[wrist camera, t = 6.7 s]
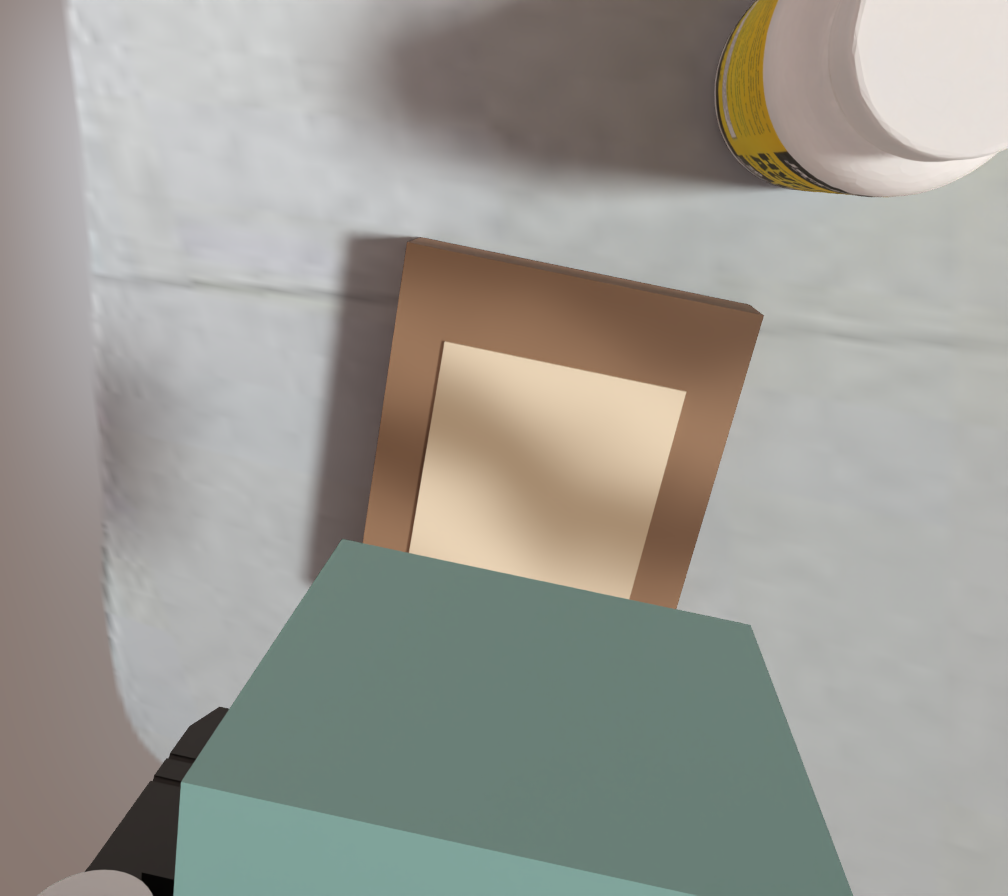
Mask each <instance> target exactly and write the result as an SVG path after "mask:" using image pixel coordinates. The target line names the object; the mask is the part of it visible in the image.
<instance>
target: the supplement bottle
mask: <svg viewBox="0 0 1008 896" xmlns="http://www.w3.org/2000/svg"><path fill="white" fill-rule="evenodd" d="M714 99H715V111H716V117H717V121H718V125H719V128H720V131H721V134H722V136H723V138H724V140H725V143H726V145H727V146H728V148H729V150H730V151H731V153H732V154H733V155H734V157H735V158H736V159H737V160H738V161H739V162H740V164H742V165H743V166H744V167H745V168H746V169H747V170H748V171H750V172H751V173H752V174H754V175H755V176H757V177H759V178H760V179H762V180H764V181H767V182H769V183H771V184H774V185H777V186H780V187H783V188H788V189H793V190H801V191H811V192H825V193H836V194H846V195H857V196H865V197H894V196H906V195H912V194H918V193H923V192H926V191H929V190H933V189H936V188H939V187H942V186H945V185H947V184H949V183H951V182H954V181H956V180H958V179H960V178H962V177H964V176H966V175H967V174H969V173H970V172H972V171H974V170H975V169H977V168H978V167H980V166H981V165H983V164H984V163H985V162H987V161H988V160H989V159H991V158H992V157H993V156H994V155H996V154H997V153H998V152H1000V151H1003V150H1005V149H1008V0H756V2H755V3H754V4H753V5H752V6H751V7H750V8H749V9H748V10H747V11H746V13H745V14H744V15H743V17H742V18H741V19H740V20H739V22H738V23H737V25H736V26H735V28H734V29H733V31H732V33H731V34H730V36H729V38H728V40H727V42H726V44H725V46H724V49H723V51H722V54H721V57H720V60H719V64H718V68H717V72H716V78H715V89H714Z"/></svg>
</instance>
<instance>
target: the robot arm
mask: <svg viewBox="0 0 1008 896" xmlns="http://www.w3.org/2000/svg"><path fill="white" fill-rule="evenodd" d="M228 710H229V709H228V708H223V707H218V708H217V709H215V710H214V711H212V712H211V713H209V714H208V715H206V716H205V717H203V718H201V719H200V720H198V721H197V722H195V723H194V724H192V725H191V726H189V728H188V729H187V730H186V732H185V733H184V735H183V736H182V737H181V739H180V740H179V742H178V743H177V744H176V746H175V747H174V749H173V750H172V751H171V753H170V756H169V758H168V759H167V758H166V760H165V761H164V763H163V764H162V765H161V767H160V768H159V770H158V771H157V773H156V774H155V775H154V779H153V781H150V782H149V784H148V785H147V786H146V788H145V789H144V791H143V792H142V793H141V795H140V796H139V798H138V799H137V800H136V802H135V803H134V805H133V806H132V807H131V809H130V810H129V811H128V813H127V814H126V816H125V817H124V819H123V820H122V822H121V823H120V824H119V826H118V827H117V828H116V830H115V831H114V832H113V834H112V835H111V837H110V838H109V840H108V841H107V842H106V844H105V845H104V847H103V848H102V849H101V851H100V852H99V853H98V855H97V856H96V858H95V859H94V860H93V862H92V863H91V865H90V866H89V867H88V868H87V870H86V871H85V872H83V873H79V874H76V875H73V876H70V877H67V878H65V879H63V880H60V881H58V882H56V883H55V884H53V885H51V886H50V887H48V888H46V889H45V890H44V891H43V892H42V893H40V894H39V895H37V896H173V894H174V879H175V865H176V850H177V835H178V820H179V805H180V790H181V781H182V780H183V778H184V777H185V775H186V774H187V772H188V771H189V769H190V768H191V766H192V765H193V763H194V762H195V760H196V759H197V757H198V756H199V754H200V753H201V751H202V750H203V748H204V746H205V745H206V743H207V742H208V740H209V739H210V737H211V736H212V734H213V733H214V731H215V730H216V728H217V727H218V725H219V724H220V722H221V721H222V719H223V718H224V716H225V715H226V713H227V712H228Z"/></svg>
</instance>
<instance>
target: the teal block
mask: <svg viewBox="0 0 1008 896" xmlns="http://www.w3.org/2000/svg"><path fill="white" fill-rule="evenodd" d="M173 896H853V894H852V891H851V889H850V886H849V884H848V881H847V878H846V876H845V873H844V870H843V868H842V865H841V862H840V860H839V857H838V855H837V852H836V849H835V847H834V844H833V841H832V839H831V836H830V833H829V831H828V828H827V826H826V823H825V820H824V818H823V815H822V812H821V810H820V807H819V804H818V802H817V799H816V797H815V794H814V791H813V789H812V786H811V783H810V781H809V778H808V775H807V773H806V770H805V768H804V765H803V762H802V760H801V757H800V754H799V752H798V749H797V746H796V744H795V741H794V739H793V736H792V733H791V731H790V728H789V725H788V723H787V720H786V717H785V715H784V712H783V710H782V707H781V704H780V702H779V699H778V696H777V694H776V691H775V688H774V686H773V683H772V681H771V678H770V675H769V673H768V670H767V667H766V665H765V662H764V659H763V657H762V654H761V652H760V649H759V646H758V644H757V641H756V638H755V636H754V633H753V630H752V628H751V625H748V624H743V623H738V622H734V621H729V620H724V619H719V618H715V617H710V616H705V615H700V614H696V613H691V612H686V611H682V610H677V609H672V608H667V607H663V606H658V605H653V604H648V603H644V602H639V601H634V600H629V599H625V598H620V597H615V596H611V595H606V594H601V593H596V592H592V591H587V590H582V589H577V588H573V587H568V586H563V585H558V584H554V583H549V582H544V581H539V580H535V579H530V578H525V577H521V576H516V575H511V574H506V573H502V572H497V571H492V570H487V569H483V568H478V567H473V566H468V565H464V564H459V563H454V562H449V561H445V560H440V559H435V558H431V557H426V556H421V555H416V554H412V553H407V552H402V551H397V550H393V549H388V548H383V547H378V546H374V545H369V544H364V543H360V542H355V541H350V540H345V539H342V540H341V541H340V543H339V544H338V546H337V547H336V549H335V551H334V552H333V554H332V555H331V557H330V558H329V560H328V561H327V563H326V564H325V566H324V567H323V569H322V570H321V572H320V573H319V575H318V576H317V578H316V579H315V581H314V582H313V584H312V585H311V587H310V588H309V590H308V591H307V593H306V594H305V596H304V597H303V599H302V600H301V602H300V603H299V605H298V606H297V608H296V609H295V611H294V612H293V614H292V615H291V617H290V618H289V620H288V621H287V623H286V624H285V626H284V627H283V629H282V630H281V632H280V633H279V635H278V636H277V638H276V639H275V641H274V642H273V644H272V645H271V647H270V649H269V650H268V652H267V653H266V655H265V656H264V658H263V659H262V661H261V662H260V664H259V665H258V667H257V668H256V670H255V671H254V673H253V674H252V676H251V677H250V679H249V680H248V682H247V683H246V685H245V686H244V688H243V689H242V691H241V692H240V694H239V695H238V697H237V698H236V700H235V701H234V703H233V704H232V706H231V707H230V709H229V710H228V712H227V713H226V715H225V716H224V718H223V719H222V721H221V722H220V724H219V725H218V727H217V728H216V730H215V731H214V733H213V734H212V736H211V737H210V739H209V740H208V742H207V743H206V745H205V746H204V748H203V750H202V751H201V753H200V754H199V756H198V757H197V759H196V760H195V762H194V763H193V765H192V766H191V768H190V769H189V771H188V772H187V774H186V775H185V777H184V778H183V780H182V781H181V790H180V805H179V820H178V835H177V850H176V865H175V879H174V894H173Z"/></svg>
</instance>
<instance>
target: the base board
mask: <svg viewBox="0 0 1008 896" xmlns="http://www.w3.org/2000/svg"><path fill="white" fill-rule="evenodd" d="M763 316H764V315H762V314H761V313H760V312H758V311H757V310H756V309H754V308H753V307H752V306H750V305H748V304H743V303H738V302H734V301H729V300H724V299H719V298H714V297H709V296H704V295H700V294H695V293H690V292H685V291H680V290H675V289H670V288H665V287H661V286H656V285H651V284H646V283H641V282H636V281H631V280H627V279H622V278H617V277H612V276H607V275H602V274H597V273H592V272H588V271H583V270H578V269H573V268H568V267H563V266H558V265H554V264H549V263H544V262H539V261H534V260H529V259H524V258H519V257H515V256H510V255H505V254H500V253H495V252H490V251H485V250H481V249H476V248H471V247H466V246H461V245H456V244H451V243H446V242H442V241H437V240H432V239H427V238H422V237H420V238H417V239H414V240H411V241H409V242H407V246H406V253H405V259H404V266H403V273H402V280H401V287H400V293H399V300H398V307H397V314H396V321H395V327H394V334H393V341H392V348H391V355H390V361H389V368H388V375H387V382H386V388H385V395H384V402H383V409H382V416H381V422H380V429H379V436H378V443H377V450H376V456H375V463H374V470H373V477H372V483H371V490H370V497H369V504H368V511H367V517H366V524H365V531H364V538H363V543H364V544H369V545H374V546H378V547H383V548H388V549H393V550H397V551H402V552H407V553H412V554H416V555H421V556H426V557H431V558H435V559H440V560H445V561H449V562H454V563H459V564H464V565H468V566H473V567H478V568H483V569H487V570H492V571H497V572H502V573H506V574H511V575H516V576H521V577H525V578H530V579H535V580H539V581H544V582H549V583H554V584H558V585H563V586H568V587H573V588H577V589H582V590H587V591H592V592H596V593H601V594H606V595H611V596H615V597H620V598H625V599H629V600H634V601H639V602H644V603H648V604H653V605H658V606H663V607H667V608H672V609H676V608H677V605H678V601H679V598H680V594H681V591H682V588H683V584H684V581H685V578H686V574H687V571H688V568H689V564H690V561H691V558H692V554H693V551H694V548H695V544H696V541H697V538H698V534H699V531H700V527H701V524H702V521H703V517H704V514H705V511H706V507H707V504H708V501H709V497H710V494H711V491H712V487H713V484H714V481H715V477H716V474H717V471H718V467H719V464H720V460H721V457H722V454H723V450H724V447H725V444H726V440H727V437H728V434H729V430H730V427H731V424H732V420H733V417H734V414H735V410H736V407H737V404H738V400H739V397H740V393H741V390H742V387H743V383H744V380H745V377H746V373H747V370H748V367H749V363H750V360H751V357H752V353H753V350H754V347H755V343H756V340H757V337H758V333H759V330H760V326H761V323H762V320H763Z"/></svg>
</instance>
